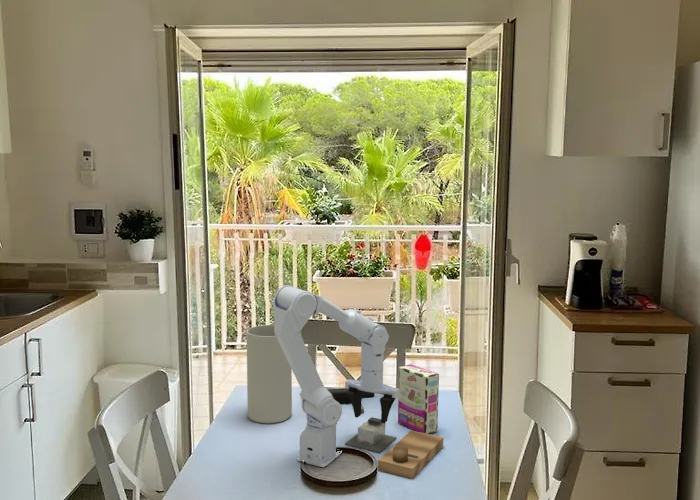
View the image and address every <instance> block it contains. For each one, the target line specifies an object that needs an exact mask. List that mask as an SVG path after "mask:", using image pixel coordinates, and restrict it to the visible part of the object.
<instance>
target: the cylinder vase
mask: <svg viewBox="0 0 700 500" xmlns="http://www.w3.org/2000/svg"><path fill="white" fill-rule="evenodd" d="M292 373H293V371H292V369H291V367H290V365H289V362H288V360H287V358H286V356H285V354H284V352H283V350H282V348H281V346H280V344H279V342H278V339H277V337H276V335H275V332H274V324H264V325H256V326H252V327H250V328H249V327H248V328H247V330H246V379H247V380H246V381H247V382H246V385H247V386H246V388H247V416H248V418H249V419H250V420H251V421H253V422H255V423H258V424H259V423H260V424H277V423H280V422H285V421H286V420H288V419H289V418H291V416H292V413H293V399H292V397H293V394H292V393H293V392H292V391H293V390H292V389H293V385H292V381H293V378H292V377H293V374H292Z"/></svg>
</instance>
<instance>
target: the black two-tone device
mask: <svg viewBox="0 0 700 500" xmlns="http://www.w3.org/2000/svg"><path fill="white" fill-rule="evenodd" d="M326 389H327V390H328V391H329V392H330V393H331V394H332V396H333V398H334V400H336V401H337V402H339V403H340V405H341V406H342V405H352V404H351V401H350V399H349V398H348V396H347V392H348V391H349V389H346V388H345V387H344V388H329V389H328V388H326ZM375 394H376V393H371V392H366V391H363V394H362V398H370V396H371V397H373V396H375ZM362 414H365V408H364V406H363V404H362V403H361V415H362Z"/></svg>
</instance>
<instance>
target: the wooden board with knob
mask: <svg viewBox="0 0 700 500" xmlns="http://www.w3.org/2000/svg"><path fill="white" fill-rule="evenodd" d="M443 448H444V436H439V435H434V434H426V433H421V432H417V431H414V430H412V429H410V431H409V432H407V434H406V435H405V436H403V437H402V438H401V439H400V440H398V441H397V442H396V443H395V445H393V446H392V447H391V448H390V449H388V450H387V451H386V452H385V453H384V454H383V455H382V456H381V457H380V458H379V459H378V460H377V471H379V472H383V473H388V474H392V475H395V476H399V477H402V478H403V477H404V478H408V479H411V480H413V479H415V478H416V476H417V475H418V474H419V473H420V472H421V470H422V469H424V468H425V467H426V465H428V463H430V461H431V460H432V459H433V458H434V457H435V456H436V455H437V454H438V453H439V452H440V451H441V449H443Z"/></svg>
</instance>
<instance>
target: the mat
mask: <svg viewBox="0 0 700 500" xmlns="http://www.w3.org/2000/svg"><path fill="white" fill-rule="evenodd" d="M396 440H397V436H393V435H388V434H385V437H384V438H383V439H382V440H381V441H379V442H378V443H377V444H376V445H375V446H369V445H364V444H360V443H358V433H357V434H355V435H354V436H352V437H351V438H349V440H347V441H346V442H345V443H344V445H345V446H347V447H353V448H357V449H361V450H364V451H369V452H374V453H376V454H377V453H378V454H381V453H382V452H384V450H386V448H388V447H389V446H390V445H391V444H392V443H393V442H395V441H396Z"/></svg>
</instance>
